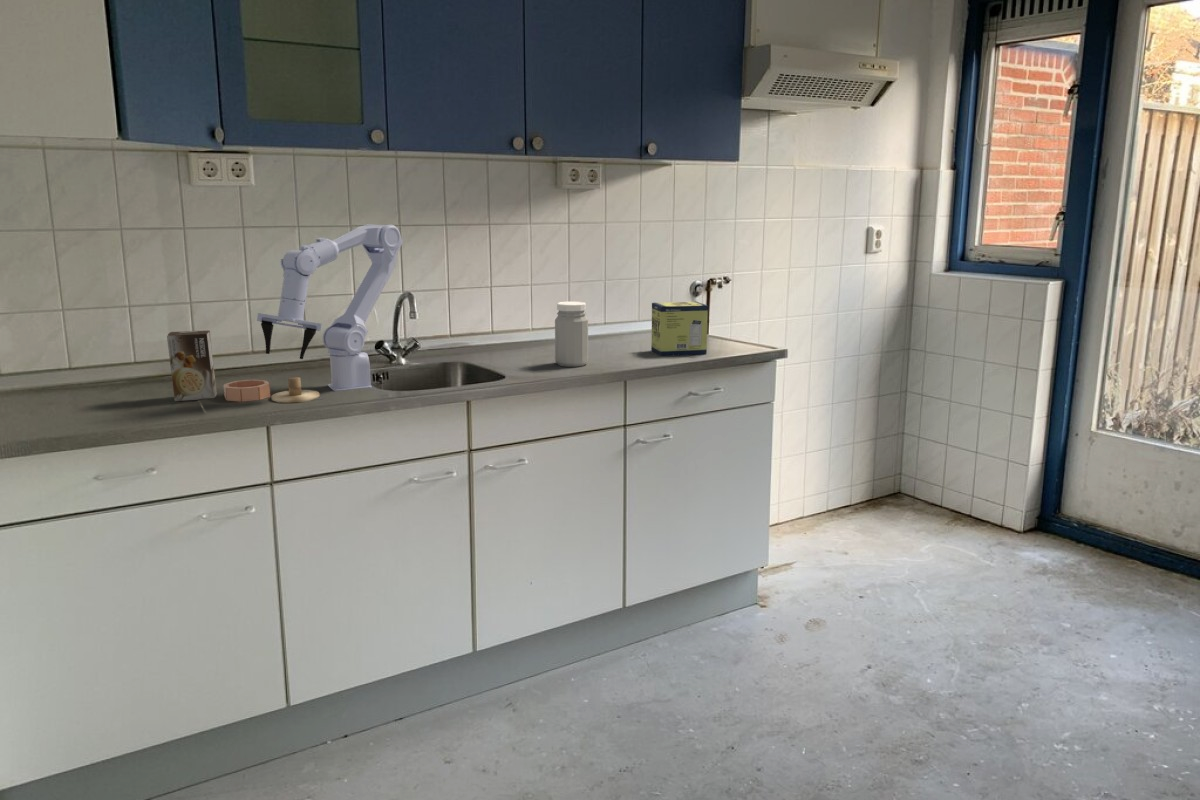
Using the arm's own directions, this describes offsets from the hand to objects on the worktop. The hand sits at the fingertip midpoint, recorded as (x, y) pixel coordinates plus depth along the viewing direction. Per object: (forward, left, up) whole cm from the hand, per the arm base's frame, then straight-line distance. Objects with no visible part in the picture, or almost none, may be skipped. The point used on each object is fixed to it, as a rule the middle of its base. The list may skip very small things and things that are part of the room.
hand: (284, 356), depth 214 cm
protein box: (-121, -11, -11) cm, 122 cm away
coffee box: (+19, -13, -11) cm, 26 cm away
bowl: (+8, -6, -11) cm, 15 cm away
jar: (-82, -9, -11) cm, 83 cm away
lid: (-2, +1, -10) cm, 10 cm away
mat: (-2, +1, -11) cm, 11 cm away
